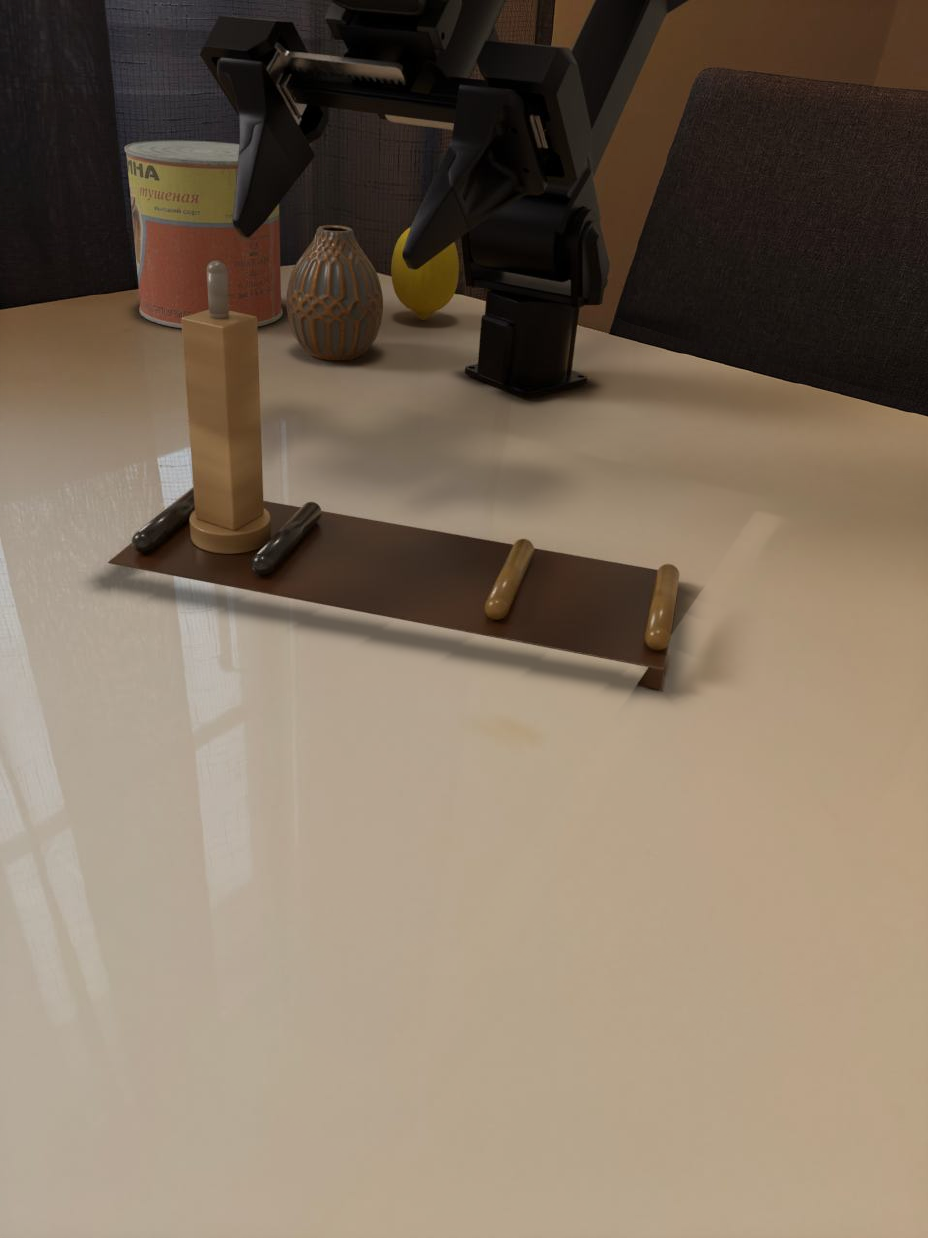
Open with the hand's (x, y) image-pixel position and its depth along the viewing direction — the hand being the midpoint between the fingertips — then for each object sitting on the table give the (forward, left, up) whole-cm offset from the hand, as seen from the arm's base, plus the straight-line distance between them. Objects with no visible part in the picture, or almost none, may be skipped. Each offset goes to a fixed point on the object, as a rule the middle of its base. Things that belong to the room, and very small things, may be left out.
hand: (321, 246), depth 46 cm
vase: (-16, -21, -13) cm, 29 cm away
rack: (+2, +9, -13) cm, 16 cm away
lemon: (-28, -25, -13) cm, 40 cm away
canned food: (-14, -35, -13) cm, 40 cm away
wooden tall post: (+7, +3, -12) cm, 14 cm away
